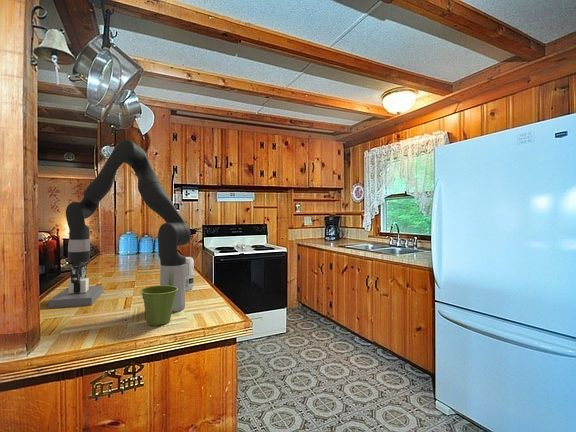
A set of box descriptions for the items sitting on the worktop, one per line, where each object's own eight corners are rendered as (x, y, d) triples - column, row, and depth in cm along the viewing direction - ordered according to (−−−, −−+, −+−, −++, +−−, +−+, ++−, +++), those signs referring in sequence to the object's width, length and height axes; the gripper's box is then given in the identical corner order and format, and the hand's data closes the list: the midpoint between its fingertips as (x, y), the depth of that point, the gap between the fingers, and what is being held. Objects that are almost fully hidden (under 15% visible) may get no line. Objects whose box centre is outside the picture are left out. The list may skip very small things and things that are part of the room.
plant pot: (176, 327, 98) (177, 292, 98) (136, 330, 95) (136, 294, 95) (178, 315, 110) (179, 284, 110) (143, 317, 106) (143, 285, 106)
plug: (85, 297, 125) (85, 280, 125) (68, 298, 123) (68, 281, 123) (88, 294, 129) (88, 278, 129) (71, 295, 127) (72, 278, 127)
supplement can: (172, 288, 147) (173, 257, 146) (188, 285, 153) (188, 256, 152) (180, 291, 141) (181, 259, 141) (196, 288, 147) (197, 258, 147)
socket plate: (91, 305, 119) (91, 296, 119) (48, 308, 114) (48, 298, 114) (103, 292, 138) (103, 284, 138) (66, 294, 133) (67, 286, 133)
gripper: (84, 252, 120) (84, 294, 120) (94, 247, 134) (93, 286, 134) (62, 252, 118) (61, 296, 118) (74, 248, 131) (73, 287, 131)
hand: (78, 290), depth 126 cm, fingers closed on plug, 4 cm apart
